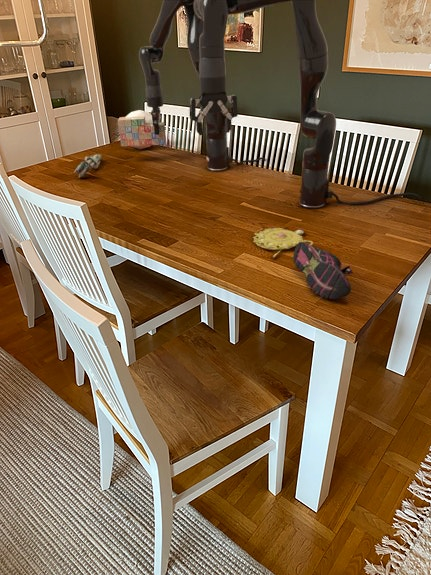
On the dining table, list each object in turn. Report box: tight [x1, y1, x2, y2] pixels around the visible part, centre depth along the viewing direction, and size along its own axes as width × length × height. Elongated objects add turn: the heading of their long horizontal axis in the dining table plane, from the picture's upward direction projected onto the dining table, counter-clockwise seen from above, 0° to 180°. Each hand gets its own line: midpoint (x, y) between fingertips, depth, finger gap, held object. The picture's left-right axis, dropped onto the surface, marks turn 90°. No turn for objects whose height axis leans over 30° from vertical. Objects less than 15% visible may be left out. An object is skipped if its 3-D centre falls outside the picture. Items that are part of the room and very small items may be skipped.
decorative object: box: [252, 227, 314, 259], centre depth 140 cm, size 21×2×20 cm
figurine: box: [73, 154, 103, 179], centre depth 208 cm, size 7×8×30 cm
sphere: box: [125, 109, 153, 150], centre depth 235 cm, size 19×20×20 cm
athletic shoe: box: [292, 242, 354, 300], centre depth 118 cm, size 11×22×12 cm
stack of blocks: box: [117, 116, 167, 147], centre depth 212 cm, size 21×6×12 cm, turn 91°
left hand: (157, 132), depth 212 cm, fingers closed on stack of blocks, 6 cm apart
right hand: (214, 133), depth 134 cm, fingers open, 8 cm apart
